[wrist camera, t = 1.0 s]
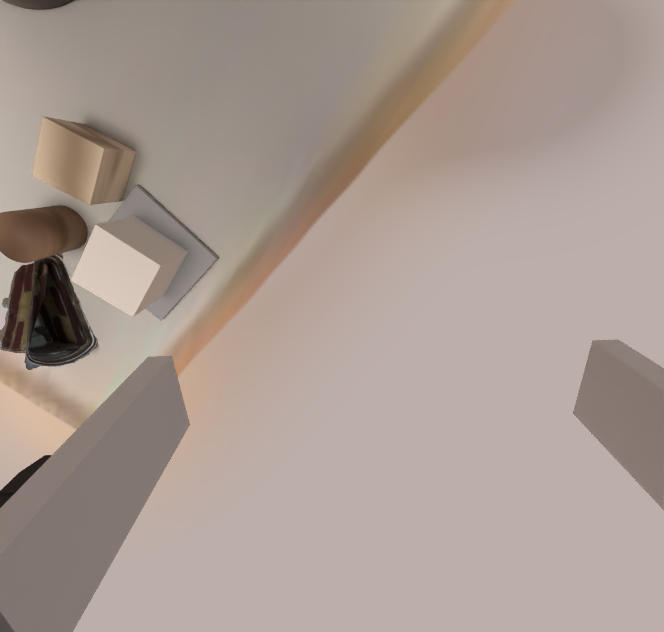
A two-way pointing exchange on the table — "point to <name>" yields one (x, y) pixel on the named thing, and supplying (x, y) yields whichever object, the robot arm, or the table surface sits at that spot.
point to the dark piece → (45, 316)
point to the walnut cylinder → (40, 232)
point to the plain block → (128, 264)
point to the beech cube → (82, 161)
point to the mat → (171, 228)
